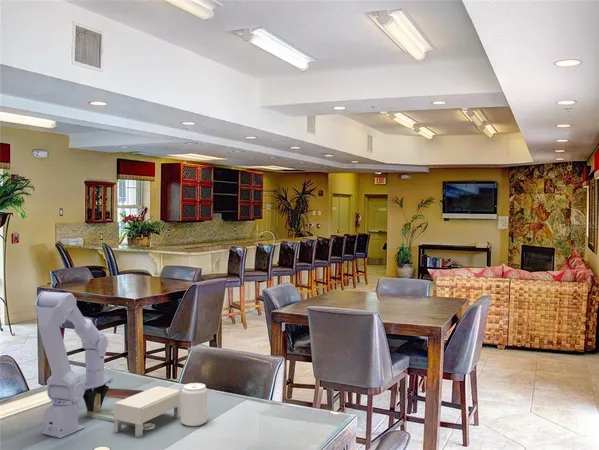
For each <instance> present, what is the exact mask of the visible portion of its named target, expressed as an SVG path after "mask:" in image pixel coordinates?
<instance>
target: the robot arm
mask: <svg viewBox="0 0 599 450" xmlns="http://www.w3.org/2000/svg"><path fill="white" fill-rule="evenodd" d="M33 307H34V310H35V313H36V314H35V315H36V317H37V321H38V322H37V323H38V324H37V326H38V330H39V334H40V338H41V342H42V345H43V348H44V351H45V352H44V353H45V354H46V358H47V361H48V365H49V368H50V372H51V375H50V376H49V378H48V379H47V380H46V385H47V386H46V387H47V390H46V392H47V397H48V398H49V399H50V402H51V406H49V407H47V408H46V409H45V411H44V416H43V420H44V421H43V422H44V423H43V431H42V432H41V434H42V435H43V434H44V435H47V436H50V437H55V438H59V439H61V438H63V437H66V436H68V435H69V436H70V434H74V433H76V432H78V431H80V430H83V429H85V426H84V425H79V402H81V400H82V398H83V401H84V403H85V407H86V408H85V409H86V412H87V411H89V412H93V410H94V401H95V396H96V393H100V394H101V408H102V407H103V402H104V399H105V398H106V397H105V395H106V393H107V391H108V389H109V388H110V386H109V385H108V384H112V383H113V382H114V380H113V379H114V378H113V376H105V356H106V354H107V349H108V348H107V347H108V346H109V340H108V336H107V335H106V334H104V333H100V330H99V329H98V328H97V327H96V326H95V325H94V323H93V320H92V319H89V318H85V316H84V315H83V314H82V312H81V310H80V309H79V308H78V306H77V298H76V297H75V296H74V294H73V293H71V292H55V291H47V290H44V291H41V292H39V294H38V296H37V297H36V299H35V302H34V304H33ZM67 319H68V320H69V321H70V322H71V323H72V324H73V325H74V329H73V330H74V333H75V334H76V335H77V336H78V337H79V338H80V341H81V347H82V349H84V350H85V351H86V352H85V380H84V381H82V380H81V378H80V375H78V374H77V373H76V372H74V371H73V370H72V368H71V364H70V360H69V357H68V353H67V350H66V346H65V343H64V339H63V335H62V331H61V325H63V324H65V322H66V321H67Z"/></svg>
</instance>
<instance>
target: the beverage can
mask: <svg viewBox="0 0 599 450" xmlns="http://www.w3.org/2000/svg"><path fill="white" fill-rule="evenodd" d="M206 385H207V384H205V383H202V382H191V383H186V384H184V385H183V388H182V389H181V406H180V419H181V422H180V423H182V424H183V425H185V426H187V427H198V426H201V425H203V424H205V423H207V416H208V414H207V412H208V411H207V408H208V389H207V387H206Z"/></svg>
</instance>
